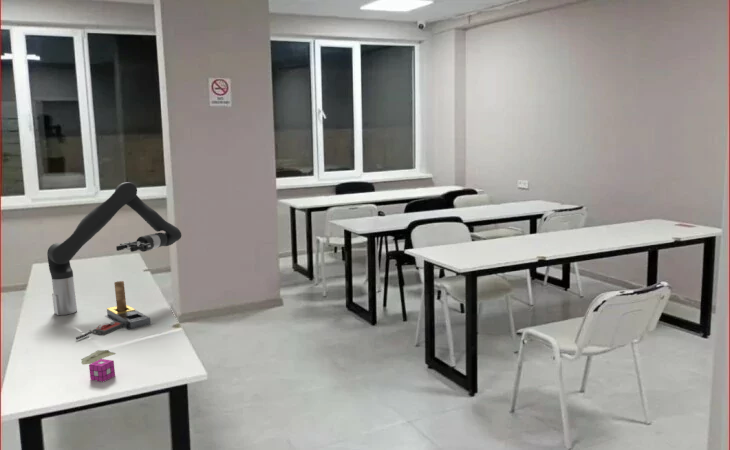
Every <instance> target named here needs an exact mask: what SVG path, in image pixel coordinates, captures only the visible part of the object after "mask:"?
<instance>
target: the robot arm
mask: <svg viewBox="0 0 730 450" xmlns="http://www.w3.org/2000/svg"><path fill="white" fill-rule="evenodd" d="M114 190H115V191H114V192H113V193H112V194H111V195H110V196H109V198H107V200H105V201H103V202H102V203H101V204H99V205H97V206H96V207H95V208H94V209H92V210H91V211H90V212H89V213H88V214H87V215H85V216H84V217H83V218H82V220H80V222H79V224H78V225H76V228H75V230H74V231H73V233H72V234H71V235H70V236H69V237H68V238H66V239H65V240H63V242H55V243H52V244H51V245H50V246H49V247H48V249H47V263H48V268H49V269H48V270H49V273H50V277H51V285H52V291H53V293H52V295H51V296H52V306H53V312H54V314H55V315H56V316H64V315H71V314H74V313H76V312H77V311H78V307H77V299H76V296H77V295H76V288H75V280H74V279H75V278H74V271H73V269H72V267H71V262H70V261H71V260H73V258H74V257H75V255H76V254H77V253H78V252H79V251H80V249H82V247H84V245H85V244H86V243H87V242H89V241H90V240H91V239H93V237H94V236H95V235H97V234H98V233H99V232H100V231H101V230H102V229H103V228H105V226H106V225H107V224H108V223H109V222H110V221H111V220H112V218H114V216H116V214H118V212H119V211H120V210H121V209H122V208H123V207H124V206H125V205H126V206H128V207H129V208H130V209H132V210H133V211H134V212H135V213H136V214H138V216H140V217H141V218H142V219H143V220H144V221H145V222H146V224H148V225H149V226H150V227H151V228H152V229H153V230H154V231H155V232H156V233H149V234H146V235H141V236H138V237H137V239H136V240H134V241H126V242H122V243H119V245H116V251H119V252H120V251H122V250H130V252H132V253H133V252H138V251H139V252H142V253H144V252H148V251H152V250H155V249H158V248H162V247H168V246H172V245H173V244H175V243H177V241H179V240H181V238H182V232H181V230H180V228H178V227H176V226H175V225H173V224H171V223H170V222H168V221H167V220H165V218H163V217H162V216H161V215H160V214H159V213H158V212H157V211H156V210H155V209H154V208H152V207H150V206H149V205H148V204H146V203H145V202H144V201H143V200H142V199H141V198H140V197H139V196H138V195H137V194H138V188H137V186H136V185H135V183H133V182H129V181H126V182H121V183H120V184H118V185H117V186H116V187H115V189H114ZM163 231H164V232H163Z"/></svg>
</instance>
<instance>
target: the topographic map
mask: <svg viewBox="0 0 730 450" xmlns="http://www.w3.org/2000/svg"><path fill="white" fill-rule="evenodd" d="M113 355H117V353H116V352H113V351H110V350H109V349H105V350H104V349H103V350H102V349H98V350H95V351H94V352H92V353H91V354H89V355H87V356H84V357H83V358H80V360H81V364H82V365H84V366H85V365H90V364H92V363H94V362H96V361H98V360H100V359H105V358H107V357H111V356H113Z"/></svg>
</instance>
